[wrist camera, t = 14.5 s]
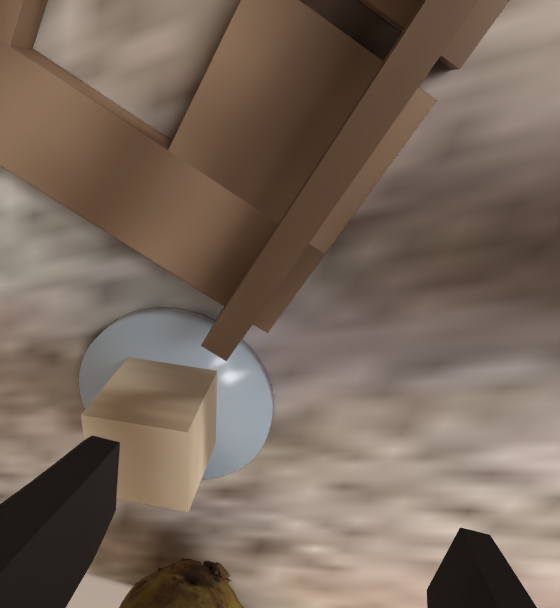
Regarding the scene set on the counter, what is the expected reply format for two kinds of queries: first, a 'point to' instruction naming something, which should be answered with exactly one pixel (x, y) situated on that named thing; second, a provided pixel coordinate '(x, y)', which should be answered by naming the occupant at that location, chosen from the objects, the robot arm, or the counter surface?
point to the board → (235, 143)
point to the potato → (184, 587)
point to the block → (157, 429)
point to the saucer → (188, 351)
